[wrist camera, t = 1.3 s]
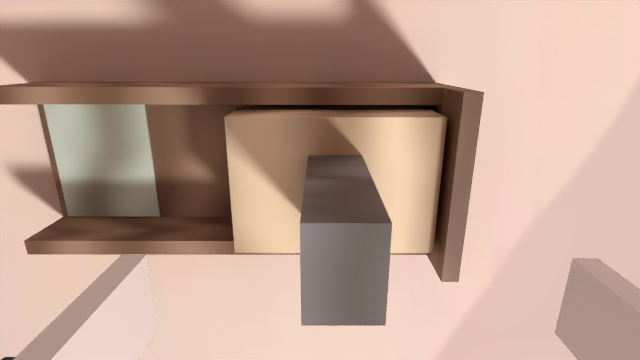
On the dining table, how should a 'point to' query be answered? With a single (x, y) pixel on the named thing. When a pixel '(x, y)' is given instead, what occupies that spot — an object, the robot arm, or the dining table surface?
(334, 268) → the block with handle
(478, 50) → the dining table surface
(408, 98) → the bay
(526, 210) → the dining table surface
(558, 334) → the robot arm
